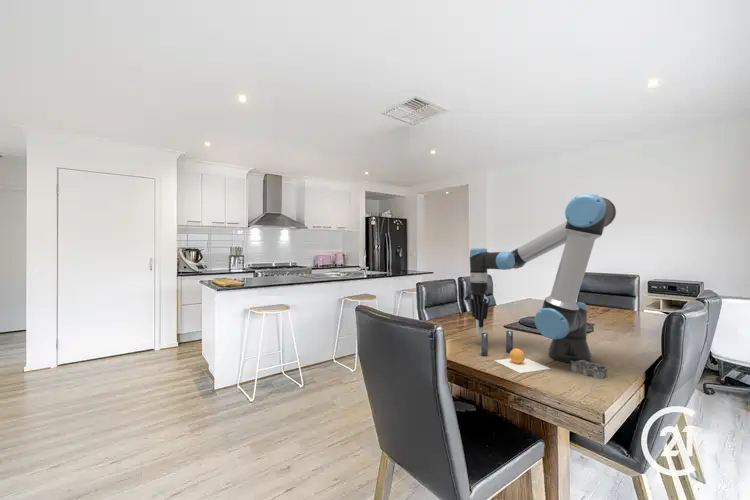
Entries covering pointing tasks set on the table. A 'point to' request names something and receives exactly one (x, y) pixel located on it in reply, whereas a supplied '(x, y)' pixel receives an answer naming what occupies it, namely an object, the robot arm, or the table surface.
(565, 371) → the table surface
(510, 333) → the post right
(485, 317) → the robot arm
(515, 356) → the ball
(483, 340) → the post left
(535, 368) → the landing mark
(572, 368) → the egg carton
